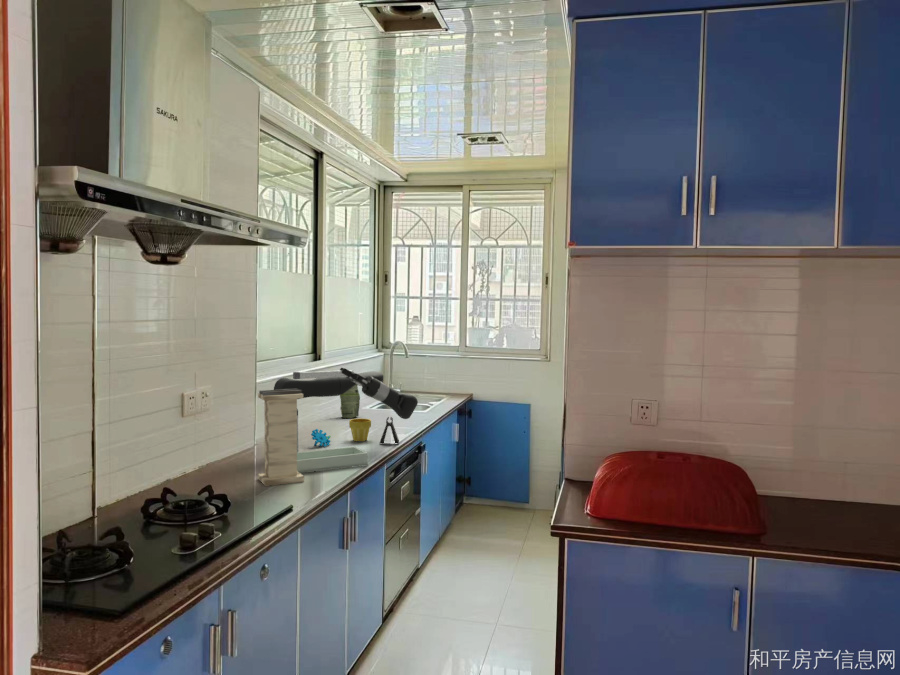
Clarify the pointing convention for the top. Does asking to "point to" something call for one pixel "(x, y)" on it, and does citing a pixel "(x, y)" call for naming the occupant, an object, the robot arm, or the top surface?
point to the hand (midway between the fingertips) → (341, 370)
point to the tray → (330, 459)
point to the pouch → (350, 403)
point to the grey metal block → (318, 374)
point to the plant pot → (360, 428)
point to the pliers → (392, 431)
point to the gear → (320, 438)
